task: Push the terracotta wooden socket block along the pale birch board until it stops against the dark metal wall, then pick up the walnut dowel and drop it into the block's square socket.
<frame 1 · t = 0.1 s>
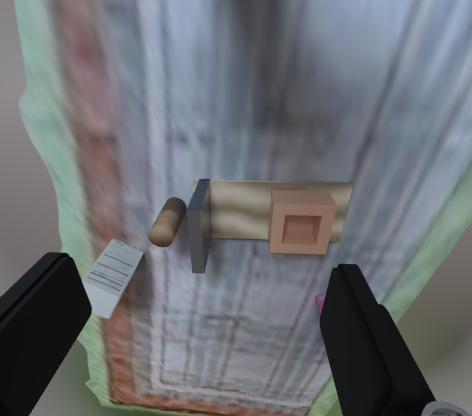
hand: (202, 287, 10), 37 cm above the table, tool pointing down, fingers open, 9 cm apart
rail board: (269, 209, 50), on the table
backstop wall: (206, 207, 51), resting on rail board
carriage: (298, 222, 46), point 4 cm above the table, slide at 0.0 cm
supplement box: (124, 255, 58), on the table
dowel: (175, 206, 51), on the table
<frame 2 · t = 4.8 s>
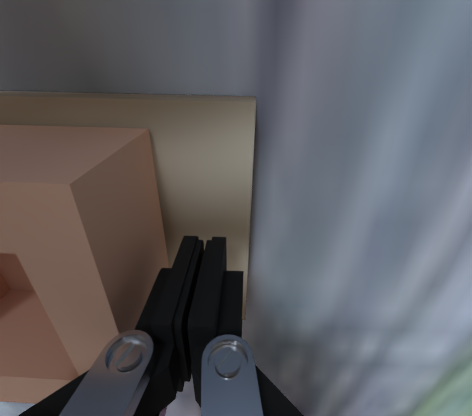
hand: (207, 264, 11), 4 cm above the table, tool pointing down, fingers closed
carriage: (21, 268, 10), point 4 cm above the table, slide at 0.0 cm, touching gripper
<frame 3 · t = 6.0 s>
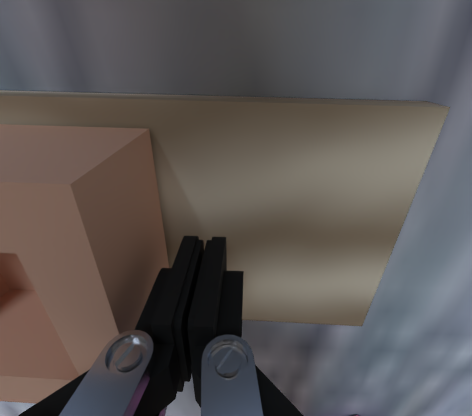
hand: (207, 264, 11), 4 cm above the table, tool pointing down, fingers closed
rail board: (114, 214, 14), on the table
carriage: (21, 268, 10), point 4 cm above the table, slide at 6.8 cm, touching gripper
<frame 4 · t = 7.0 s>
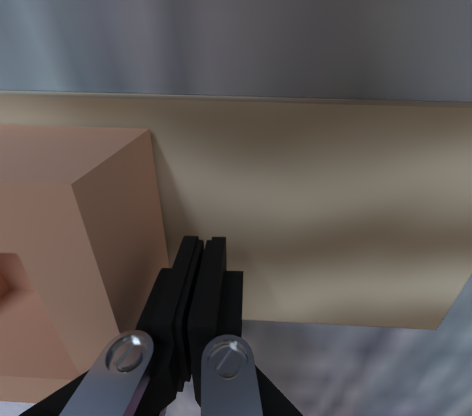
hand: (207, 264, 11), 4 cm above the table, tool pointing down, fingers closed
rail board: (192, 217, 14), on the table
carriage: (22, 268, 10), point 4 cm above the table, slide at 11.0 cm, touching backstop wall, gripper
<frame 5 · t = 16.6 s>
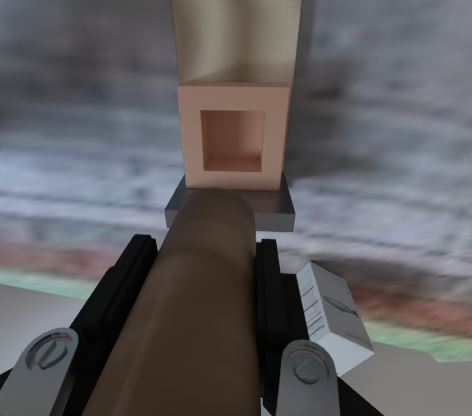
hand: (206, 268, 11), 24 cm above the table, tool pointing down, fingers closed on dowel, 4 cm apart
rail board: (236, 70, 28), on the table
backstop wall: (235, 173, 34), resting on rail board
carriage: (233, 136, 28), point 4 cm above the table, slide at 11.0 cm, touching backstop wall
supplement box: (312, 281, 44), on the table
dowel: (216, 222, 13), point 21 cm above the table, touching gripper
when the fingers open (8 cm above the table, at t = 20.0 s): dowel drops 2 cm, resting on carriage.
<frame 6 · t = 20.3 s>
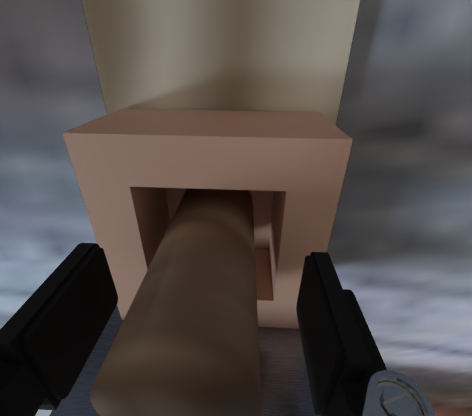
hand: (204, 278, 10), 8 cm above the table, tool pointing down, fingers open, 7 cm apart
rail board: (222, 85, 14), on the table
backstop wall: (224, 256, 20), resting on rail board
carriage: (216, 220, 14), point 4 cm above the table, slide at 11.0 cm, touching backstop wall, dowel
dowel: (217, 206, 15), point 3 cm above the table, touching carriage
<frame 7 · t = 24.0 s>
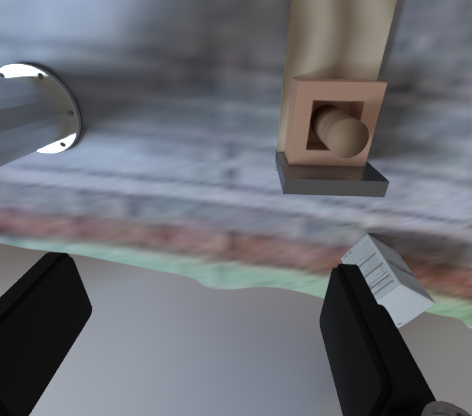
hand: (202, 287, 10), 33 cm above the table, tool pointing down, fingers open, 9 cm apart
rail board: (328, 69, 35), on the table
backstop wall: (314, 156, 41), resting on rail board
carriage: (328, 122, 34), point 4 cm above the table, slide at 11.0 cm, touching dowel
supplement box: (366, 253, 50), on the table
dowel: (325, 120, 36), point 3 cm above the table, touching carriage
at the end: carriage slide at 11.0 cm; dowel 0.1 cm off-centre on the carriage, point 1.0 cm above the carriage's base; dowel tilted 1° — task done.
